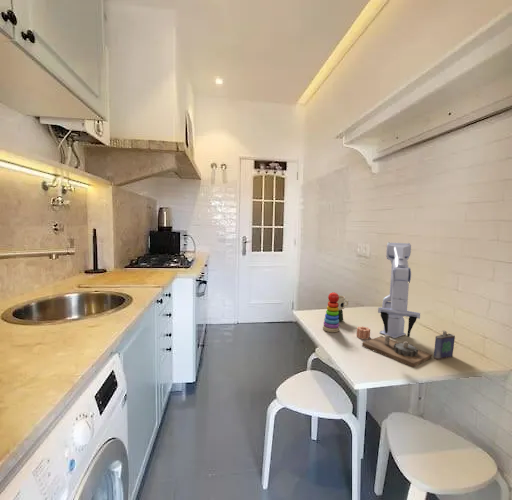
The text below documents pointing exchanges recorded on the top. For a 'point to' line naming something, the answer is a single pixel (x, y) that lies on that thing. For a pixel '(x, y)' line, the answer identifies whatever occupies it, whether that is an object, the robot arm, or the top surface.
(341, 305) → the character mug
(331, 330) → the stacking toy
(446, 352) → the flask
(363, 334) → the terracotta gear
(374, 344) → the board
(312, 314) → the top surface
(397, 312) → the robot arm
